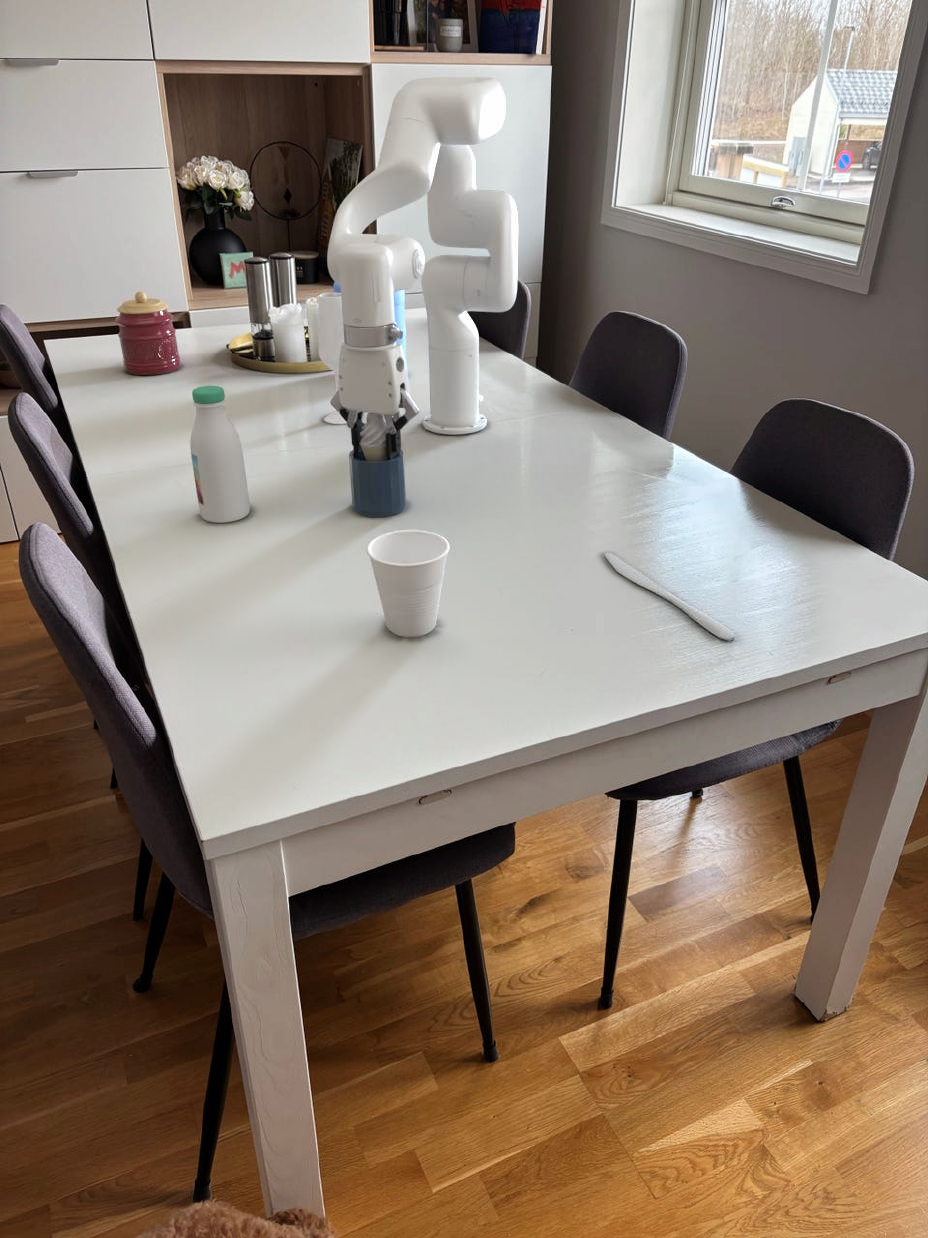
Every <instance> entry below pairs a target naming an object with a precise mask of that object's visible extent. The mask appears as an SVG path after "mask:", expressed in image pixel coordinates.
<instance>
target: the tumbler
mask: <svg viewBox="0 0 928 1238" xmlns="http://www.w3.org/2000/svg"><path fill="white" fill-rule="evenodd" d="M348 465H349V476H350V477H349V479H350V491H351V504H352V509H353V511H354V512H355V514H358V515H359V516H362V517H367V518H387V517H392V516H395V515H399V514H400V513H402V512H403V511H404V510H405V509H406V507H407V504H406V503H407V497H406V475H405V474H406V473H405V472H406V471H405V451H404V450H403V449H402V448H401V450H400V453H399V454H398V455H396V456H395V457H394V458H392V459H387V460H386V461H379V462H369V461H366V458H365V456H364V453H363V451H361V452H360V453H358V454H355V453H354V450H353V449H352V450H350V451H349V454H348Z"/></svg>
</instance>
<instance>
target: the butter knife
mask: <svg viewBox="0 0 928 1238" xmlns="http://www.w3.org/2000/svg"><path fill="white" fill-rule="evenodd" d="M604 556H605V558H606V560H607V561H608V563H610V565H611V567H613V569H614V570H615V571H616V572H617V573H619V574H620V575H622V576H623V577H625V578H627V579H628V580H630V581H631V582H633V583H635V584H636V585H638V586H640V587H643V588H645V589H647V590H649V591H651V592H653V593H655V594H656V595H659V596H660V597H662V598H663V599H665V600H668V601H669V602H671V603H672V604H674V605H675V606H677V607H678V608H679V609H680V610H682V611H683V612H685V614H687V615H688V616H689V617H690V618H691V619H693V620H694V621H695V622H696V623H698V624H699V625H700V626H702V628H704V629H706V630H707V631H708V632H710V633H711V634H713V635H714V636H716V637H717V638H719V639H722V640H725V641H731V640H734V639H735V637H736V635H735V633H734V631H732V630H731V629H730V628H728V627H727V626H726V625H724V624H722V623H721V622H720V621H718V620H716V619H715V618H713V617H711V616H710V615H709V614H707V613H705V612H704V611H701V610H699V609H697V608H696V607H694V606H692V605H691V604H689V603H687V602H686V601H684V600H682V599H681V598H679V597H677V596H676V595H674V594H673V593H671V592H670V591H668V590H666V589H665V588H664V587H662V586H661V585H659V584H658V583H656V582H655V581H653V580H652V579H650V578H649V577H648V576H646V575H645V574H643V573H642V572H640V571H639V570H637V569H636V568H634V567H633V566H631V565H630V564H628V563H627V562H625V561H624V560H622V559H621V558H620V557H619V556H617V555H615V554H614V553H612V552H606V553H604Z"/></svg>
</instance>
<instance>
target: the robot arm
mask: <svg viewBox="0 0 928 1238" xmlns="http://www.w3.org/2000/svg"><path fill="white" fill-rule="evenodd" d="M506 108H507V105H506V95H505V92H504V89H503V87H502V85H501V84H500V82H499V81H498V80H497V79H495V78H493V77H486V76H485V77H483V76H482V77H481V76H480V77H479V76H478V77H477V76H474V77H471V76H470V77H469V76H468V77H454V76H453V77H450V76H449V77H447V76H446V77H445V76H444V77H443V76H441V77H422V78H416V79H412V80H410V81H408V82H406V83H405V84H404V85H403V86H402V87H401V88H400V89H399V90H398V91H397V92H396V94H395V95H394V98H393V101H392V104H391V107H390V113H389V117H388V120H387V124H386V129H385V133H384V137H383V142H382V145H381V150H380V154H379V158H378V163H377V166H376V168H375V169H374V170H372V172H370V174H368V175H366V176H365V177H364V178H363V179H362V180H361V181H360V182H359V183H357V185H356V186H355V187H354V188H352V190H351V191H350V192H349V193H348V194H347V196H346V197H345V198H344V199H343V200H342V202H341V204H339V207H338V208H337V211H336V214H335V216H334V220H333V225H332V227H331V232H330V237H329V240H328V241H329V242H328V247H327V255H326V256H327V257H326V258H327V259H326V261H327V270H328V273H329V275H330V277H331V278H332V280H333V281H334V282H336V283H338V284H339V285H340V289H341V302H342V316H343V330H344V342H343V343H342V344H341V349H340V357H339V389H338V391H337V392H336V391H335V394H334V395H333V396H332V398H331V399H330V401H329V403H330V406H332V407H333V408H334V409H335V411H336V410H337V411H338V412H340V415H341V416H342V417H343V419H344V420H345V421H346V422H347V423H346V426H347V428H349V429H350V438H351V445H352V450H354V453H355V454H358V453H360V452H361V451H363V450H362V447H361V445H360V444H359V443H360V441H361V439H362V436H361V435H360V433H361V432H362V431H364V430H362V426H364V425H365V424H366V423H365V422H363V420H364V415H365V413H366V414H368V413H375V414H383V415H384V421H385V422H386V425H387V428H388V433H387V434H386V435H385V438H386V456H387V458H388V459H392V458H394V457H395V456H396V455H398V454H399V453H400V450H401V449H402V433H401V430H403V429H404V427H405V426H406V425H407V424H408V423H409V422H410V421H411V420H412V419H414V418H415V417H416V416H417V415H419V414H420V409H419V408H418V407H417V405H416V403H415V402H414V400H412V398H411V394H410V393H411V391H410V383H409V382H410V381H409V374H408V366H407V367H406V363H407V360H406V361H405V357H404V353H403V349H402V346H401V343H396V341H397V339H402V337H403V331H402V330H399V329H397V328H396V323H395V316H394V294H393V292H394V291H400V290H404V291H405V290H406V291H407V290H409V289H411V288H413V287H414V286H416V285H417V284H418V283H419V282H420V280H421V282H420V283H421V288H422V294H423V295H422V296H423V301H424V304H425V305H424V306H425V312H426V320H427V336H428V337H427V338H428V339H427V341H428V376H429V377H428V380H429V405H430V406H429V411H430V412H429V414H427V415H425V416H424V417H423V418H422V426H423V428H424V429H425V430H427V431H429V432H431V433H435V434H440V435H441V434H442V435H449V436H451V435H452V436H453V435H455V436H456V435H467V434H473V433H476V432H477V433H478V432H479V431H482V430H483V429H485V428H486V427H487V424H488V418H487V417H486V416H485V415H484V414H482V413H480V405H481V404H482V403H483V402H484V397H483V395H482V394H480V337H479V331H478V328H477V326H476V324H475V322H474V321H473V319H472V317H471V316H470V314H469V313H468V312H485V313H504V312H507V311H509V310H511V309H512V307H513V306H515V305H514V304H515V302H516V299H517V293H518V277H519V276H518V275H519V273H518V272H519V271H518V270H519V269H518V267H519V265H518V264H519V263H518V262H519V251H518V250H519V217H518V210H517V205H516V201H515V199H514V198H513V197H512V195H511V194H509V193H508V192H506V191H503V190H497V189H478V188H477V185H476V184H477V183H476V159H475V155H474V153H473V151H472V148H471V146H475V145H479V144H482V143H484V142H486V141H488V140H490V139H492V138H493V137H495V136H496V135H497V134H498V133H499V132H500V131H501V128H502V126H503V124H504V122H505V117H506V110H507V109H506ZM425 196H426V197H427V198H426V200H427V201H426V202H427V204H426V205H427V222H428V223H427V224H428V232H429V236H430V238H431V240H432V241H433V243H434V244H435V245H438V246H440V247H446V248H456V249H457V248H459V249H484V250H487V252H488V254H489V255H488V256H487V255H486V256H485V255H472V254H471V255H469V254H440V255H437V256H434V257H432V258H430V259H428V260H427V261H426V258H425V253H424V250H423V247H422V245H421V244H420V243H419V242H418V241H417V240H416V239H414V238H412V237H410V236H407V235H396V234H395V235H394V234H373V233H372V234H371V233H364V231H365V230H366V228H367V227H369V226H370V225H371V224H372V223H373V222H375V221H376V220H378V219H379V218H380V217H382V216H385V215H387V214H389V213H391V212H394V211H397V210H399V209H402V208H404V207H405V206H409V205H410V204H412V203H415V202H417V201H419V200H420V199H422V198H424V197H425ZM400 409H404V411H405V413H404V414H402V415H401V412H400Z"/></svg>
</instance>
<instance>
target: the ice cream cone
mask: <svg viewBox="0 0 928 1238" xmlns="http://www.w3.org/2000/svg"><path fill="white" fill-rule="evenodd" d="M362 430H364V431H362V432H361V433H360V435H361V436H362V439H361V441H360V443H359V444H360V445H361V447H362V450H363V453H364V456H365V458H366V461H369V462H379V461H386V460H387V459H388V458H387V456H386V438H385V435H386V434H387V433H388V428H387V425H386V422H385V419H384V415H383V414H375V413H367V415H366V423H365V425H364V426H362Z"/></svg>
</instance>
